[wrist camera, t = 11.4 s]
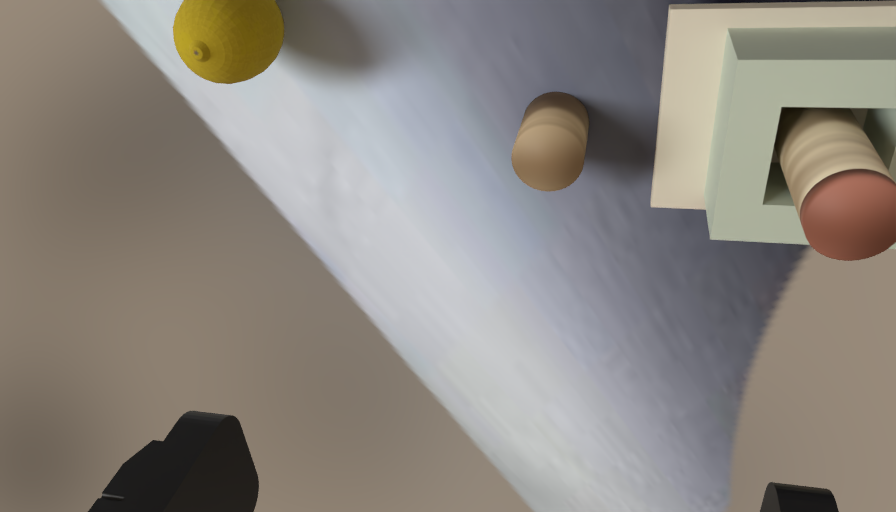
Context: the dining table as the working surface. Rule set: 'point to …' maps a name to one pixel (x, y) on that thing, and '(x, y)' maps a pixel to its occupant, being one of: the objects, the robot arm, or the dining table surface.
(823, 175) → the tall dowel
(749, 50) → the socket block
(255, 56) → the lemon
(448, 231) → the dining table surface
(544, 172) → the short dowel
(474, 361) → the dining table surface
